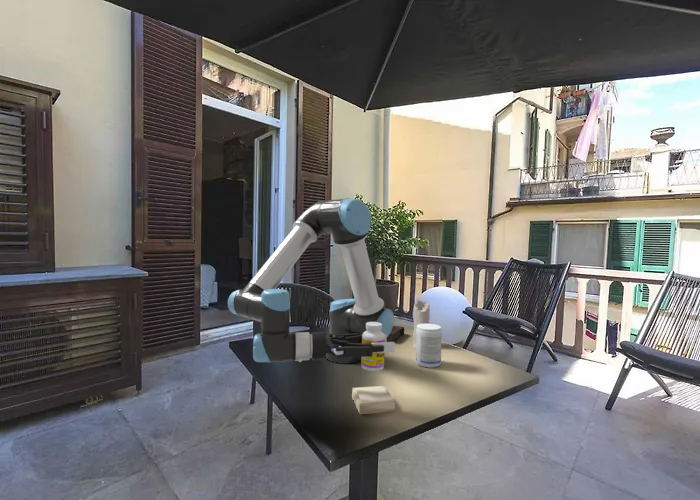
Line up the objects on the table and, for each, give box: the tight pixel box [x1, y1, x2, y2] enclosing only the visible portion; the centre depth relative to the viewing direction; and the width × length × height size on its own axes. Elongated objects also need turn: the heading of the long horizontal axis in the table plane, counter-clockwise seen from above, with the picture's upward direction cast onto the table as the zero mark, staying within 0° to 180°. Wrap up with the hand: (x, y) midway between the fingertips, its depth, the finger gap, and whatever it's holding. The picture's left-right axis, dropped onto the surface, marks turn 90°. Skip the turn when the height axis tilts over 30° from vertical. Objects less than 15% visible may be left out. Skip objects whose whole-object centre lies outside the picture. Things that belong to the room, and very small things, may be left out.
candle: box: [412, 299, 430, 350], centre depth 155 cm, size 7×14×20 cm, turn 173°
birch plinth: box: [351, 385, 396, 415], centre depth 101 cm, size 10×10×3 cm
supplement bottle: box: [360, 322, 386, 372], centre depth 101 cm, size 7×7×13 cm
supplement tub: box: [415, 323, 443, 369], centre depth 135 cm, size 10×10×15 cm
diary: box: [387, 325, 405, 342], centre depth 172 cm, size 19×25×5 cm
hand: (389, 342), depth 102 cm, fingers closed on supplement bottle, 7 cm apart
